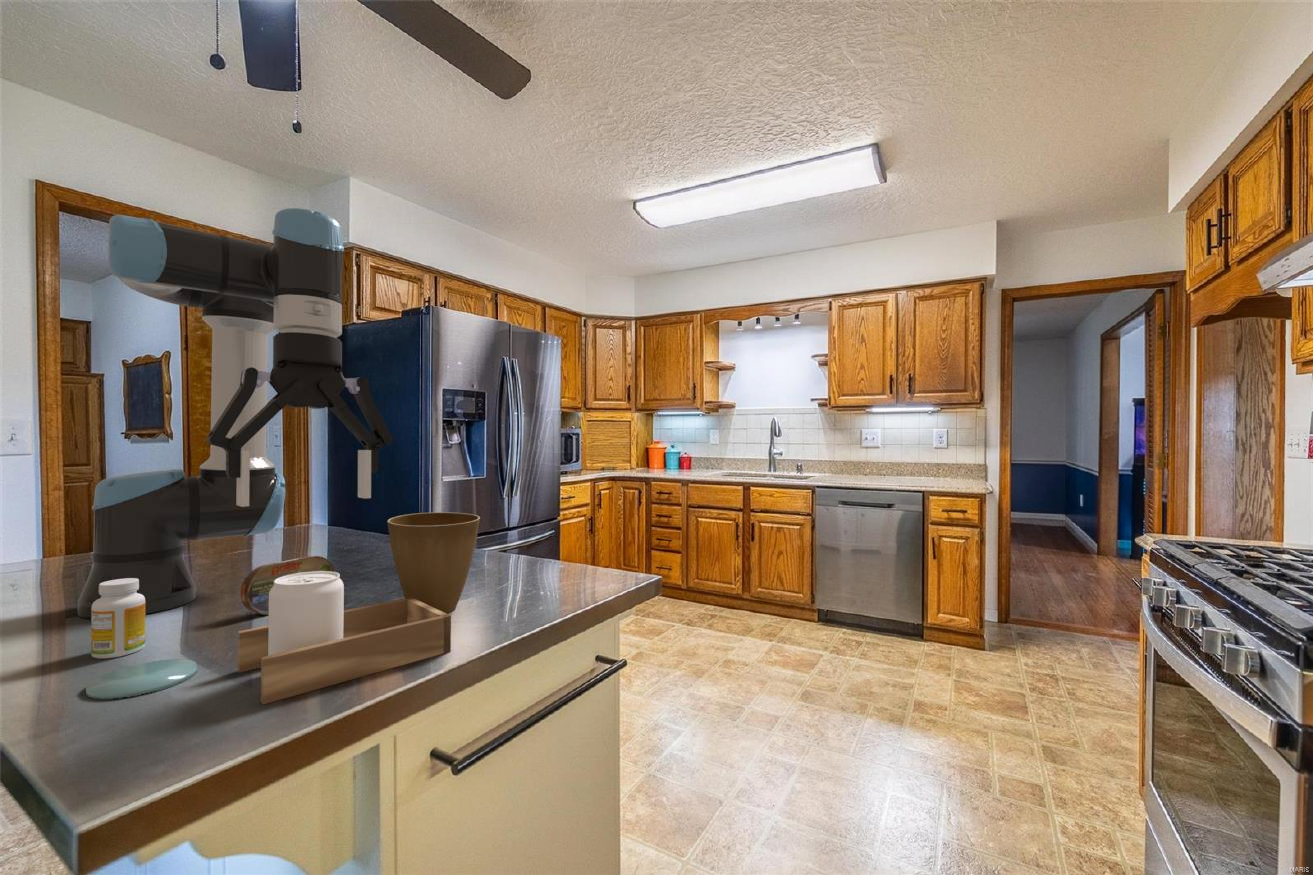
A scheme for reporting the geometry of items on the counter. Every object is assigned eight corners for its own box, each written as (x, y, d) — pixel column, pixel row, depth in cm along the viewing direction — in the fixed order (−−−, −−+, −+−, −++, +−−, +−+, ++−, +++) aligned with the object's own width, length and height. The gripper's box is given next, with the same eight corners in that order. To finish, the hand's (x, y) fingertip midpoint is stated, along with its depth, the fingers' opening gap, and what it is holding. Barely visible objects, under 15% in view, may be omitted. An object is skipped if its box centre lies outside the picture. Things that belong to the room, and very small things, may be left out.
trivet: (84, 680, 69) (84, 675, 69) (190, 657, 76) (190, 653, 76) (87, 708, 62) (87, 702, 62) (203, 680, 69) (203, 675, 69)
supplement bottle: (144, 642, 81) (144, 574, 81) (146, 652, 78) (146, 581, 78) (91, 651, 78) (91, 581, 78) (90, 663, 74) (91, 588, 74)
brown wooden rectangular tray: (237, 670, 72) (238, 631, 72) (410, 629, 88) (411, 597, 88) (263, 704, 63) (263, 659, 63) (450, 651, 79) (451, 615, 79)
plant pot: (366, 616, 94) (366, 520, 94) (433, 594, 107) (434, 510, 107) (435, 629, 88) (436, 526, 88) (496, 603, 102) (497, 515, 102)
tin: (248, 621, 91) (248, 569, 91) (236, 618, 92) (237, 567, 92) (336, 598, 105) (336, 552, 105) (325, 595, 106) (325, 551, 106)
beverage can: (308, 688, 67) (309, 587, 67) (251, 682, 69) (252, 583, 69) (357, 662, 75) (358, 572, 75) (305, 657, 77) (306, 568, 77)
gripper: (187, 314, 61) (185, 512, 60) (418, 344, 79) (417, 496, 78) (177, 325, 66) (175, 507, 66) (396, 350, 84) (395, 493, 84)
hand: (307, 501), depth 72 cm, fingers open, 13 cm apart
